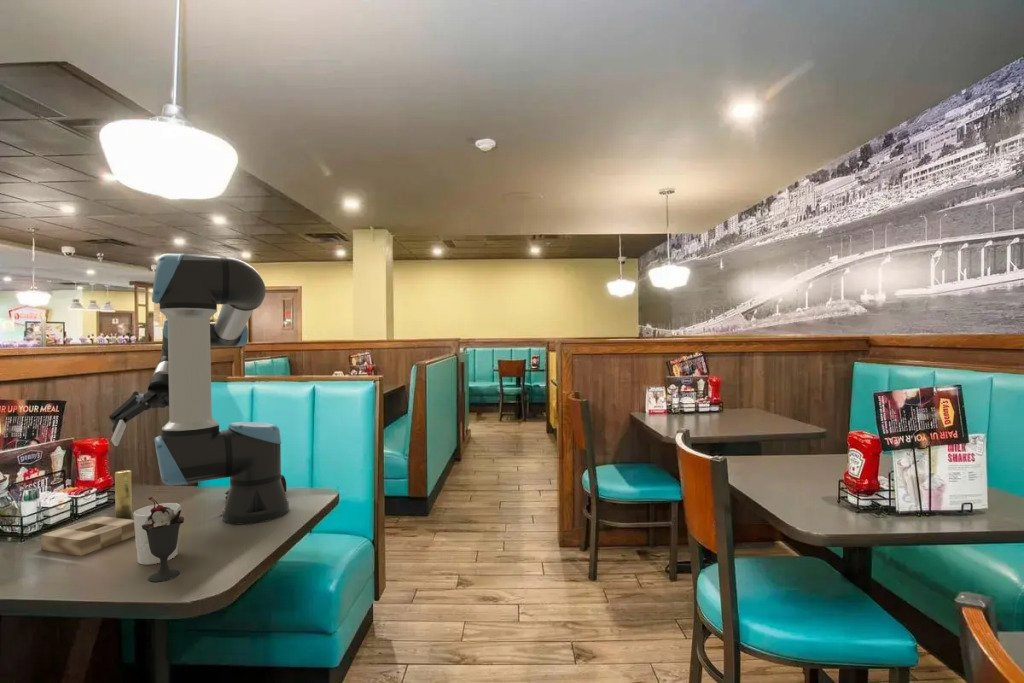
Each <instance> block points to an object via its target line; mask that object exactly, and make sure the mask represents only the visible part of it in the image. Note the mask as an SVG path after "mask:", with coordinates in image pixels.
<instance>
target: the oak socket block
mask: <svg viewBox="0 0 1024 683" xmlns="http://www.w3.org/2000/svg"><path fill="white" fill-rule="evenodd" d="M133 537H135V529H134V520H129V519H120V518H113V517H111V516H96V517H94V518H90V519H87V520H84V521H81V522H77V523H74V524H71V525H68V526H64V527H62V528H58V529H55V530H52V531H49V532H46V533H42V534H40V550H42V551H48V552H54V553H62V554H69V555H74V556H83V555H88V554H90V553H92V552H95V551H97V550H98V551H99V550H100V549H103V548H106V547H108V546H111V545H113V544H114V545H115V544H117V543H120V542H123V541H125V540H127V539H131V538H133Z"/></svg>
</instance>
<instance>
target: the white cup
mask: <svg viewBox="0 0 1024 683" xmlns="http://www.w3.org/2000/svg"><path fill="white" fill-rule="evenodd" d="M158 504H159V505H162V506H163V507H169V508H171V509H172V510H174V514H176V513H177V512H178V511H179V510H181V504H180V503H177V502H164V503H163V502H162V503H158ZM158 504H157V503H155V508H156V507H157V506H158ZM152 508H154V504H151V505H148V506H147V505H146V506H144V507H141V508H139V509H135V510H134V512H132V514H133V516H134V529H135V536H134V540H135V548H136V552H137V553H136V554H137V563H138V564H140V565H145V566H146V565H148V566H149V565H150V566H151V565H156V564H157V563H158V564H160V559H159V558H158V557H155V556H154V555H153V554H151V551H150V548H149V542H148V537H147V532H146V530H144V529H142V527H141V526H142V525H144V524H145V521H146V520H147V517H148V516H149V515H151V512H150V510H151V509H152ZM179 529H180V527H179ZM179 541H180V532H179V533H178V541H177V546H176V549H175V550H174V552H173V553H172V554H171V555H170V556H169V557H168V561H170V560H172V558H173V559H174V558H175V556H176V555H177V556H178V554H179V552H178V550H179V549H178V548H179ZM177 556H176V557H177ZM158 564H157V565H158Z"/></svg>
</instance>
